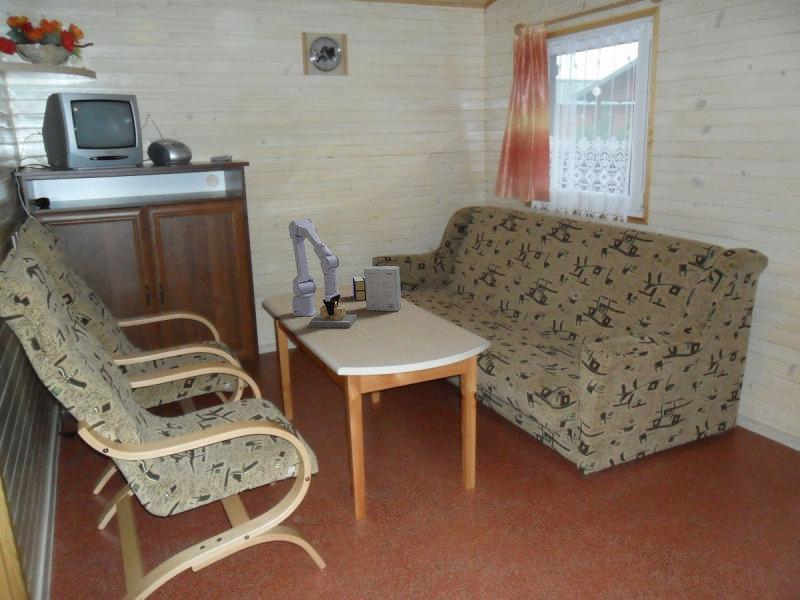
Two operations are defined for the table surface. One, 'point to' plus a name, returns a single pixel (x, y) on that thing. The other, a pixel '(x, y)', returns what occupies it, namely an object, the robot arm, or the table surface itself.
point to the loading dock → (333, 322)
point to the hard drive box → (382, 288)
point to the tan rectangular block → (338, 313)
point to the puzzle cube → (359, 288)
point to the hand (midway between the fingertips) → (332, 313)
